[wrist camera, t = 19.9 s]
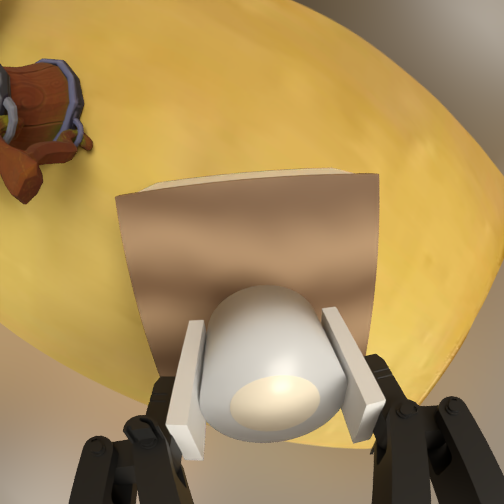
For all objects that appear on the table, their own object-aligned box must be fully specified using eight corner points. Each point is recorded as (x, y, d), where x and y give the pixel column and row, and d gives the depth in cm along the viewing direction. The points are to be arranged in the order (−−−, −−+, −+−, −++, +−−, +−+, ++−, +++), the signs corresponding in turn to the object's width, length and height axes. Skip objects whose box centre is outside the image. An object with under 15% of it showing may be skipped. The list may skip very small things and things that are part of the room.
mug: (156, 114, 22) (65, 85, 8) (95, 216, 25) (-4, 281, 11) (43, 48, 18) (-49, 20, 4) (-1, 136, 21) (-95, 152, 7)
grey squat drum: (198, 291, 14) (183, 359, 9) (319, 278, 14) (358, 339, 9) (216, 378, 16) (213, 448, 11) (315, 367, 16) (338, 432, 11)
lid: (119, 195, 17) (110, 198, 15) (373, 173, 17) (383, 174, 16) (163, 374, 21) (159, 385, 20) (361, 354, 21) (367, 365, 20)
